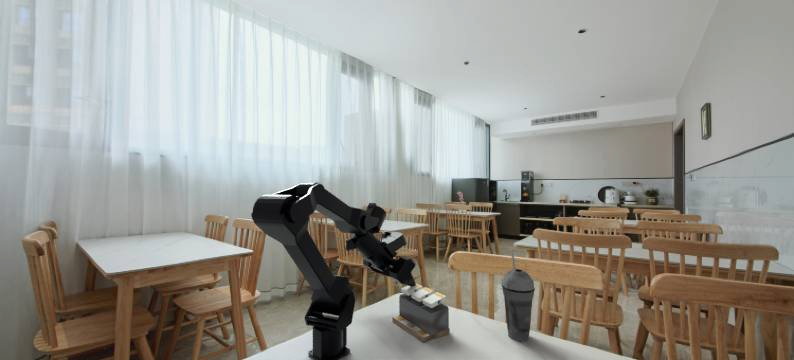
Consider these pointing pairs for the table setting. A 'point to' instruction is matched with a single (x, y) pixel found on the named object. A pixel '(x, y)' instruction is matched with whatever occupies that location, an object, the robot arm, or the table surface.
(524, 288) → the beverage cup
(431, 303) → the rocker right
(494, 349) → the table surface
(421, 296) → the rocker mid
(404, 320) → the switch unit
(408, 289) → the rocker left
